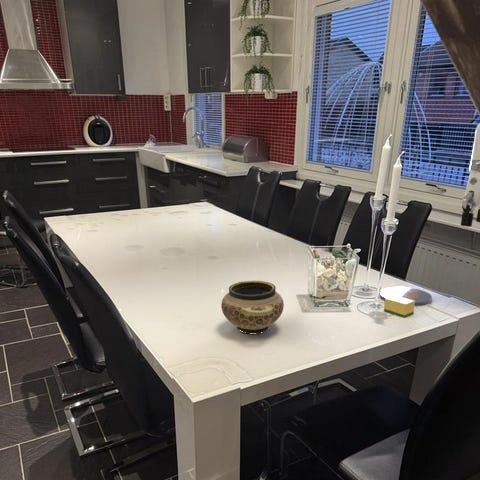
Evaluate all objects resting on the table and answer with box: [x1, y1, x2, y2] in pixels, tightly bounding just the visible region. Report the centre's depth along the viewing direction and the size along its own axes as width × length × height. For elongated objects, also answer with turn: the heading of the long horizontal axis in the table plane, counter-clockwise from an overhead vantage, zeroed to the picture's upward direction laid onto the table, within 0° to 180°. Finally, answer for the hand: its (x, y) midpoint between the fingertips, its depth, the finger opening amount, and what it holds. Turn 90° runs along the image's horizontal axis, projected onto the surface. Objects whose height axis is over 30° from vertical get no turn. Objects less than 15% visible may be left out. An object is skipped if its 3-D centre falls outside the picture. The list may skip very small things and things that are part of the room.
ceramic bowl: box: [220, 280, 285, 334], centre depth 135 cm, size 24×18×15 cm
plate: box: [379, 286, 433, 307], centre depth 161 cm, size 17×17×1 cm
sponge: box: [383, 295, 415, 318], centre depth 147 cm, size 8×5×4 cm, turn 39°
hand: (473, 224), depth 146 cm, fingers open, 9 cm apart
